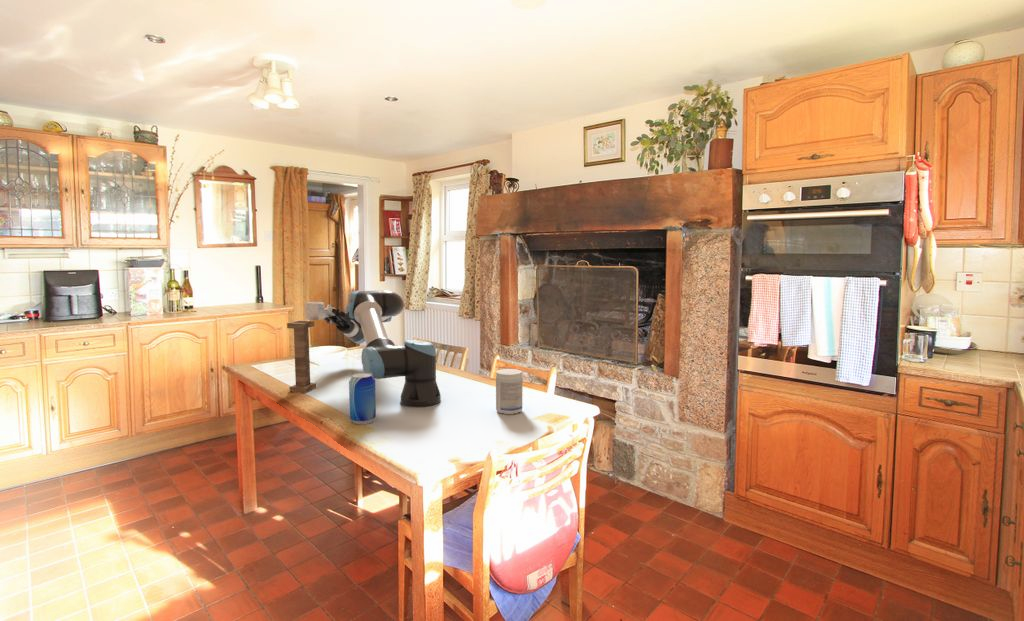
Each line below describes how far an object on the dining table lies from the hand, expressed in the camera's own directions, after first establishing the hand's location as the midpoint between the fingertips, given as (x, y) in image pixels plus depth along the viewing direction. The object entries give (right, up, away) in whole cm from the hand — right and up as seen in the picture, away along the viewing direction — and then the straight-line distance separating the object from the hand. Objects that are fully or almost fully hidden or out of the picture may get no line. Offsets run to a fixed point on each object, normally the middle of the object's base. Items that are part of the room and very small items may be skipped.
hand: (323, 306), depth 223 cm
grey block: (0, -5, 0) cm, 5 cm away
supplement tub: (+81, -38, -37) cm, 97 cm away
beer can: (+32, -39, -50) cm, 71 cm away
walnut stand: (-3, -34, -12) cm, 36 cm away
